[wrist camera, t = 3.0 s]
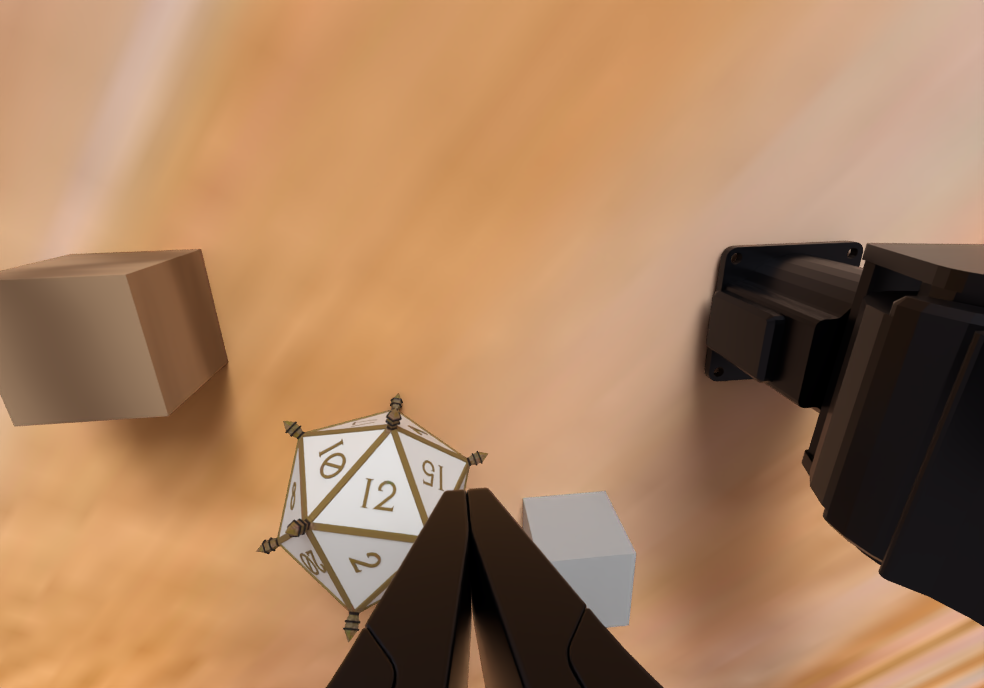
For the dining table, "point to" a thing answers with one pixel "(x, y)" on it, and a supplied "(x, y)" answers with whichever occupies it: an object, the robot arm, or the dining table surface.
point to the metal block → (106, 336)
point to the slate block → (586, 549)
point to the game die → (363, 501)
